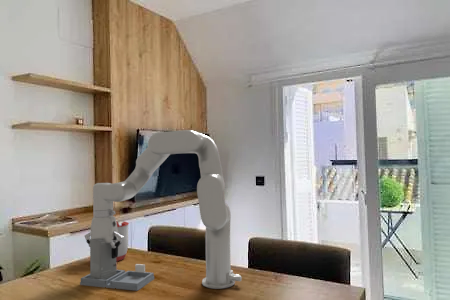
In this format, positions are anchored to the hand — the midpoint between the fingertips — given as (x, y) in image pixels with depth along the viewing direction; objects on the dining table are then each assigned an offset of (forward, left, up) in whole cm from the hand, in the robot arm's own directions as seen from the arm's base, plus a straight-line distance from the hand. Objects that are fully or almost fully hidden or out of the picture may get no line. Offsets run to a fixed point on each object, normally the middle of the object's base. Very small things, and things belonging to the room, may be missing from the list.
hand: (104, 256), depth 140 cm
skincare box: (0, 0, -9) cm, 9 cm away
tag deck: (-6, 0, -9) cm, 11 cm away
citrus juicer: (+15, -28, -10) cm, 33 cm away
